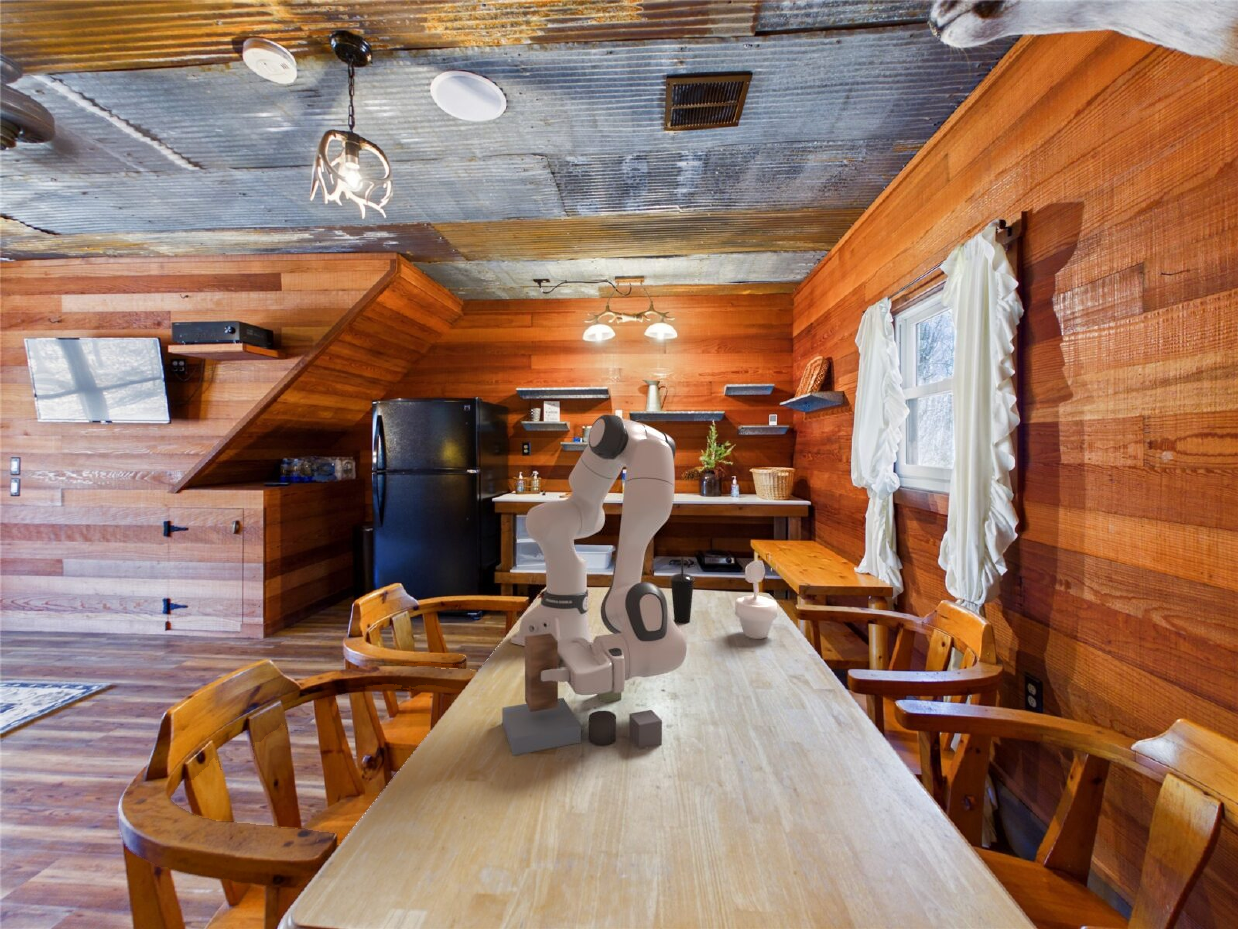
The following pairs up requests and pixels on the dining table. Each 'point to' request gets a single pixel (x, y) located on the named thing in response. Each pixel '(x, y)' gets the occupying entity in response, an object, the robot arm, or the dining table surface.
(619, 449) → the robot arm
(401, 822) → the dining table surface
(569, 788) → the dining table surface
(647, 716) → the mauve grey cube
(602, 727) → the charcoal cylinder
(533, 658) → the walnut block
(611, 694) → the olive block
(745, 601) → the potted plant
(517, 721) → the slate riser
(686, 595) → the drinking cup
